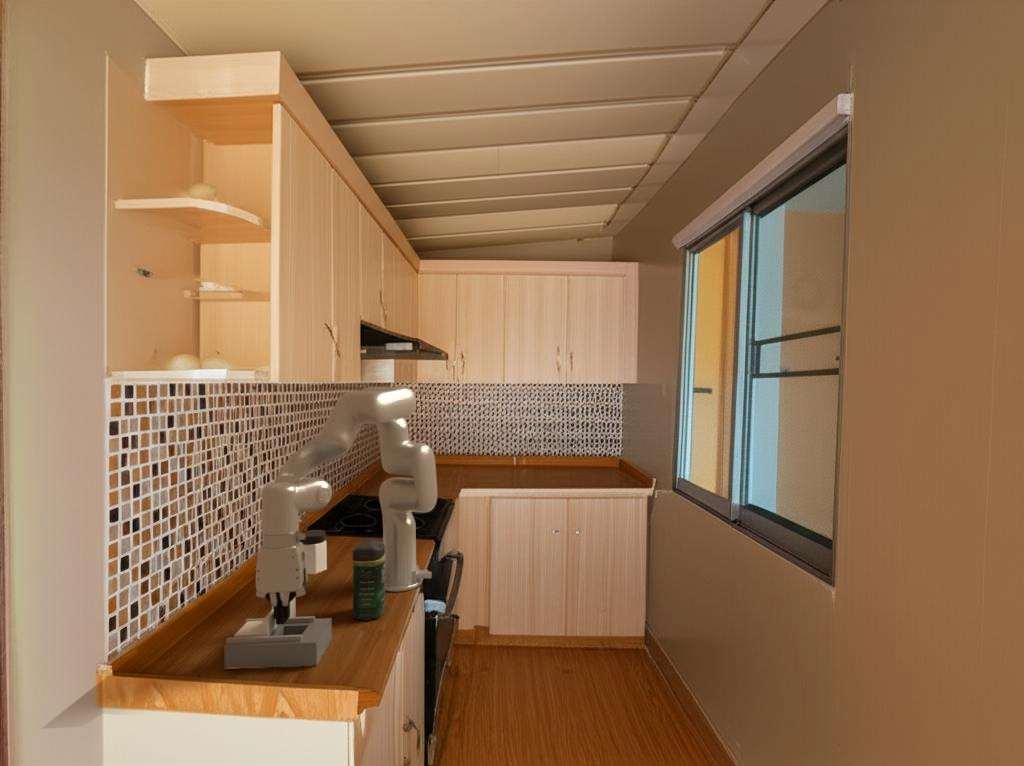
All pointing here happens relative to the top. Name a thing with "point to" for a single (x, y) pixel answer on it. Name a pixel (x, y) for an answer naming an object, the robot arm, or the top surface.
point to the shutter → (258, 627)
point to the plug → (292, 606)
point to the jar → (315, 551)
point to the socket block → (282, 644)
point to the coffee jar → (368, 579)
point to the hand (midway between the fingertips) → (282, 621)
